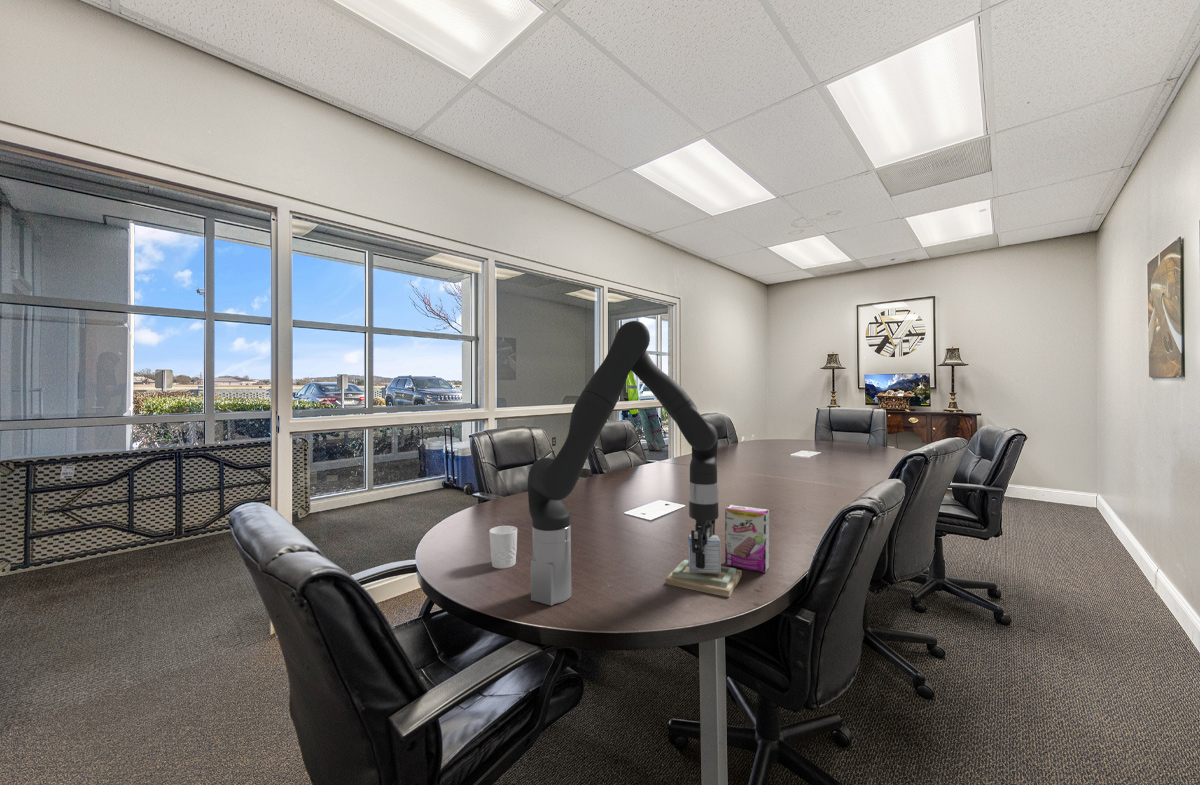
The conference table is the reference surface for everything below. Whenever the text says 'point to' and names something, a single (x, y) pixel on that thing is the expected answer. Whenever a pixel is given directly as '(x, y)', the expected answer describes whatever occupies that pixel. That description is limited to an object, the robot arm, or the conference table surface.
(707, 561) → the medicine box
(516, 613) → the conference table surface
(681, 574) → the locating plate
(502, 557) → the white cup
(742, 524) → the candy bar box
